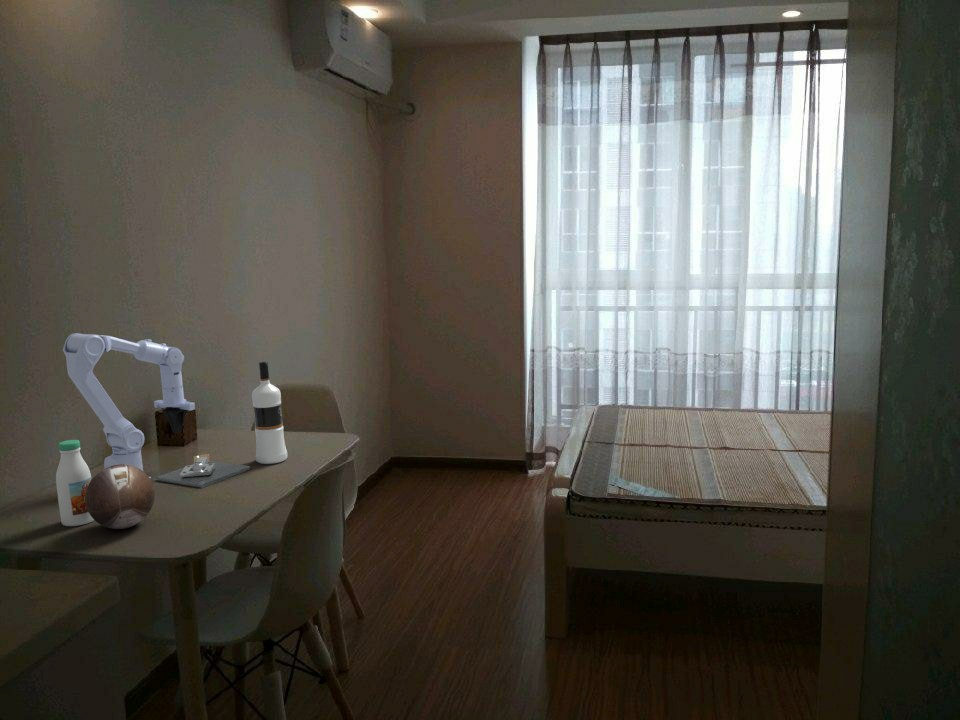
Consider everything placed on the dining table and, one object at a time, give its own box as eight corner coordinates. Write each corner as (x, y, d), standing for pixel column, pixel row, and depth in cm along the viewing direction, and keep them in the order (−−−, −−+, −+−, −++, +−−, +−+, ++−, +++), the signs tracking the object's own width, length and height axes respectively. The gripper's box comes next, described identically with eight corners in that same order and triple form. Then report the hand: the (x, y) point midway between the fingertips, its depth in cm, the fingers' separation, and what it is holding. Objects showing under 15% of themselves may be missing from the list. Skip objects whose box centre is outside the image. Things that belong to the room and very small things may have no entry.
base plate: (201, 488, 221) (200, 475, 220) (156, 480, 229) (155, 468, 229) (250, 469, 236) (249, 457, 236) (206, 463, 245) (204, 451, 244)
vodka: (251, 460, 246) (242, 362, 241) (281, 454, 251) (272, 358, 246) (262, 466, 238) (253, 365, 233) (292, 460, 243) (284, 361, 239)
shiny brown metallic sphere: (106, 543, 183) (98, 479, 181) (78, 529, 193) (70, 468, 191) (169, 524, 194) (162, 463, 192) (140, 511, 204) (133, 453, 202)
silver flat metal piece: (210, 474, 228) (209, 467, 228) (180, 477, 227) (179, 470, 227) (219, 460, 243) (218, 453, 243) (191, 462, 242) (190, 455, 242)
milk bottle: (60, 529, 194) (49, 447, 190) (62, 519, 201) (52, 440, 197) (96, 523, 197) (86, 443, 193) (97, 513, 204) (87, 435, 200)
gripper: (200, 385, 239) (205, 431, 241) (165, 383, 245) (170, 427, 248) (182, 390, 232) (187, 436, 235) (146, 388, 239) (151, 433, 241)
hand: (177, 432), depth 241 cm, fingers closed
